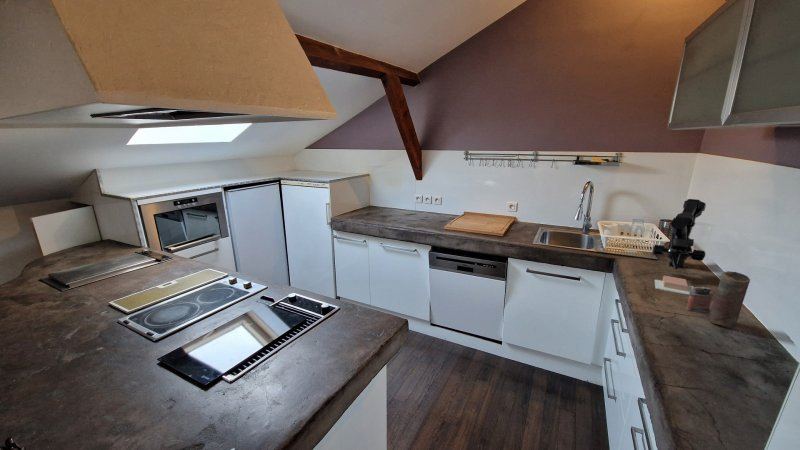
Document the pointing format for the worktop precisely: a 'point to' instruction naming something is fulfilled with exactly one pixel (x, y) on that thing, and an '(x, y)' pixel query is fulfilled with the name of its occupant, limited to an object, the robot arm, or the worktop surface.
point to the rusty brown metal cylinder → (729, 299)
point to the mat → (660, 286)
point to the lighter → (699, 299)
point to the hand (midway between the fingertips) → (676, 268)
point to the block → (675, 283)
